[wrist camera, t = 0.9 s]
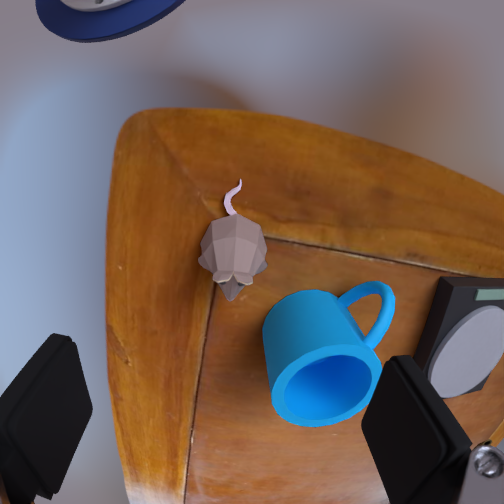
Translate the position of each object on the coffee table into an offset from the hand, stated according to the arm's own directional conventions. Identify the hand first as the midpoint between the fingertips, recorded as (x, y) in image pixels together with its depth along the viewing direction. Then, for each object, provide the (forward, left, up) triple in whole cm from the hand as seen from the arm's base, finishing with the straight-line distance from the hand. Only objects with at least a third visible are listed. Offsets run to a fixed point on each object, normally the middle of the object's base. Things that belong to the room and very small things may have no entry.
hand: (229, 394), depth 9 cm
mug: (+7, +8, -17) cm, 21 cm away
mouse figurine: (0, 0, -17) cm, 17 cm away
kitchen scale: (+10, +27, -17) cm, 33 cm away
